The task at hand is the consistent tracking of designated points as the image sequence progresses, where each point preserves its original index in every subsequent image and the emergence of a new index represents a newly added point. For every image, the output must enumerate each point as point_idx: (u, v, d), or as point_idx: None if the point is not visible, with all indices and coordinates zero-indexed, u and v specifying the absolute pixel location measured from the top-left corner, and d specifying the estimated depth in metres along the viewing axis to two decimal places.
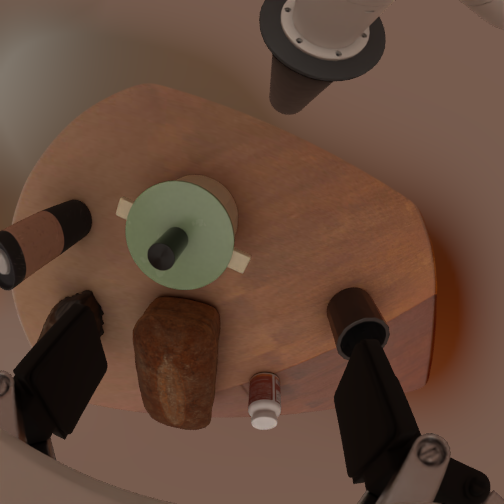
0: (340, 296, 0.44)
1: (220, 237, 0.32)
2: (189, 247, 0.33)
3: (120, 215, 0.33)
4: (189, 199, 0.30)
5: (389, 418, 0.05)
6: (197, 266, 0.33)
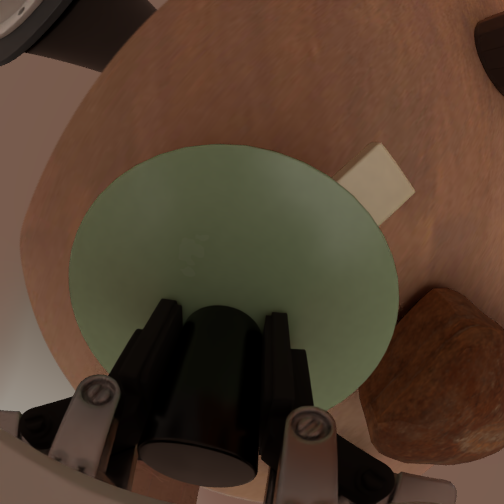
0: (488, 54, 0.11)
1: (267, 201, 0.08)
2: (261, 315, 0.10)
3: None
4: (115, 251, 0.09)
5: (270, 382, 0.07)
6: (333, 316, 0.10)
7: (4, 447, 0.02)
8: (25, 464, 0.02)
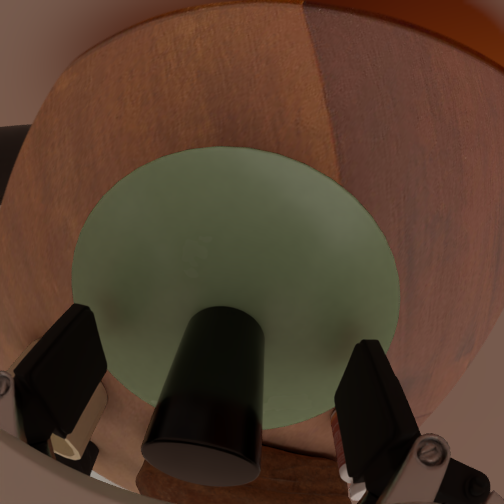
0: None
1: (270, 203, 0.08)
2: (264, 316, 0.10)
3: None
4: (118, 252, 0.09)
5: (389, 418, 0.05)
6: (335, 317, 0.10)
7: (4, 447, 0.02)
8: (25, 464, 0.02)
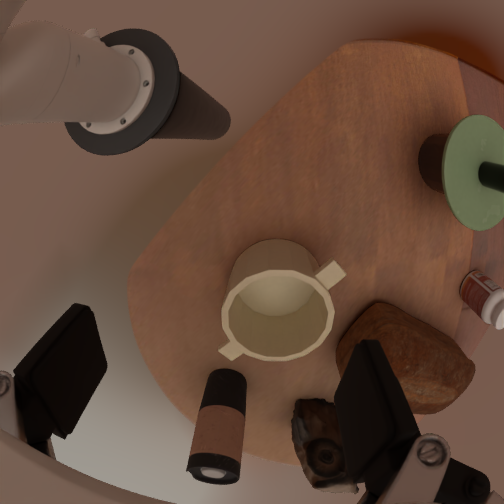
0: (423, 169, 0.31)
1: (496, 134, 0.20)
2: None
3: (234, 357, 0.34)
4: (466, 138, 0.21)
5: (389, 418, 0.05)
6: None
7: (4, 447, 0.02)
8: (25, 464, 0.02)
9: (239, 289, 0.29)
